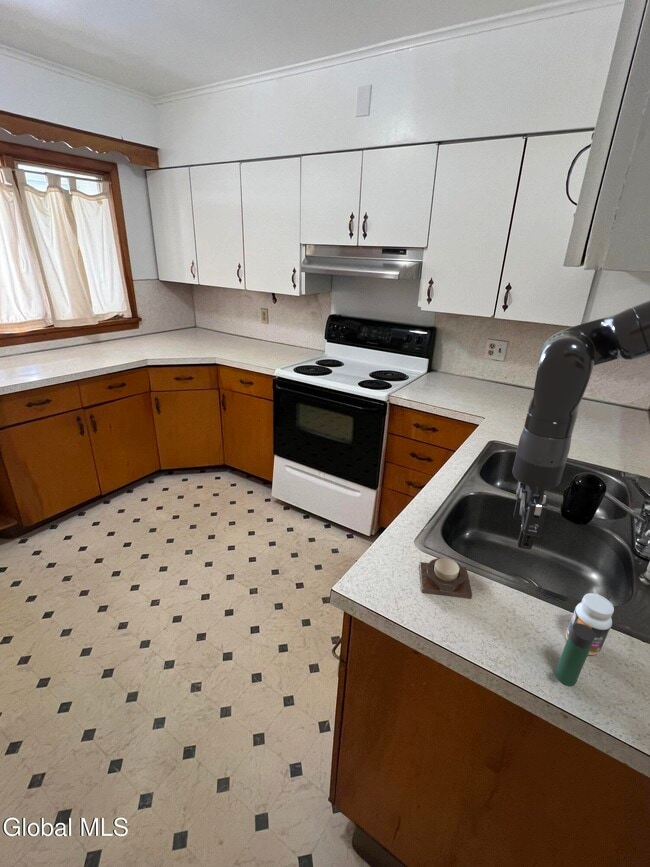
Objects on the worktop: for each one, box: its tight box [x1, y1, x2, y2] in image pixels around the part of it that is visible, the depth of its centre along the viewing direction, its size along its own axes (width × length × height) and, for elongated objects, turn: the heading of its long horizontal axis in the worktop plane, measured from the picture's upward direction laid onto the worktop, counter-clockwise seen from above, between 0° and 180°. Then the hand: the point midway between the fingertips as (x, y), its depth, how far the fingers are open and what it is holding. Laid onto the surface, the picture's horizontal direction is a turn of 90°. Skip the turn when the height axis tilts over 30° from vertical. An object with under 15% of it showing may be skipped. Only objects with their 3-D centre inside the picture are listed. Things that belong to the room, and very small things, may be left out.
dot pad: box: [434, 557, 459, 581], centre depth 89 cm, size 5×5×2 cm
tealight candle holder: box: [419, 557, 473, 600], centre depth 90 cm, size 10×8×3 cm
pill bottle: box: [565, 592, 615, 656], centre depth 76 cm, size 6×6×10 cm
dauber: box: [554, 623, 595, 687], centre depth 69 cm, size 3×3×11 cm
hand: (521, 532), depth 78 cm, fingers open, 8 cm apart
